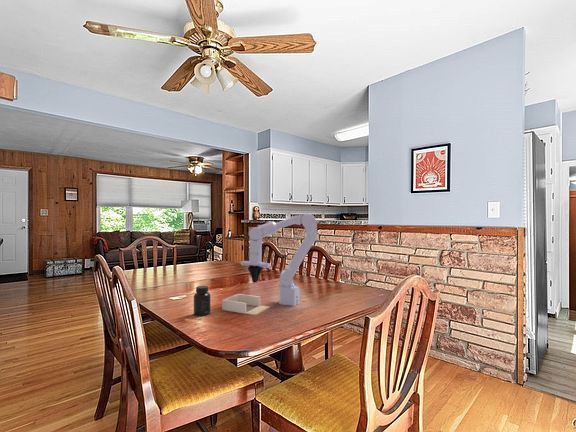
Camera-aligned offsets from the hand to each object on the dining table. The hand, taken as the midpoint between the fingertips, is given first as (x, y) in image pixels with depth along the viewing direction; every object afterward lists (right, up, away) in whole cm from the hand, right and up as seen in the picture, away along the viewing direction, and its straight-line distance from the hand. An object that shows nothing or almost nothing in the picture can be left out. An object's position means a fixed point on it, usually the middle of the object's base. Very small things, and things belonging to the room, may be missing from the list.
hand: (255, 282), depth 146 cm
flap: (+1, -10, -12) cm, 15 cm away
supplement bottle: (-20, -11, -17) cm, 28 cm away
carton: (-5, -10, -9) cm, 14 cm away
